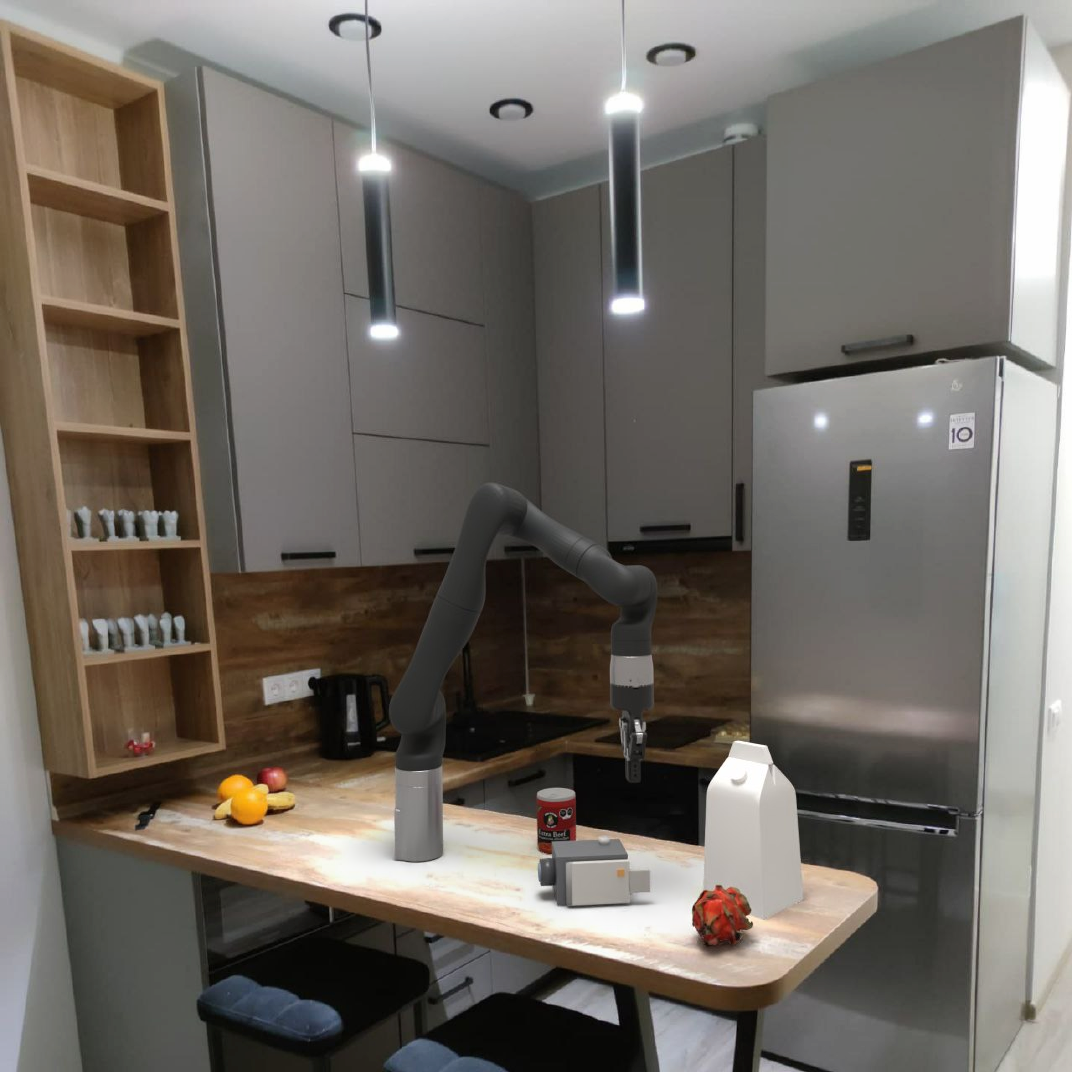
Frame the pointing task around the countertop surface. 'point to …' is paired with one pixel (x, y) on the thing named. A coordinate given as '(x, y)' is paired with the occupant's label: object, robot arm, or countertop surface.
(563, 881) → the camera body
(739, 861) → the milk
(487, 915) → the countertop surface
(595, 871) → the side door
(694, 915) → the dragon fruit
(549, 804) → the canned food
